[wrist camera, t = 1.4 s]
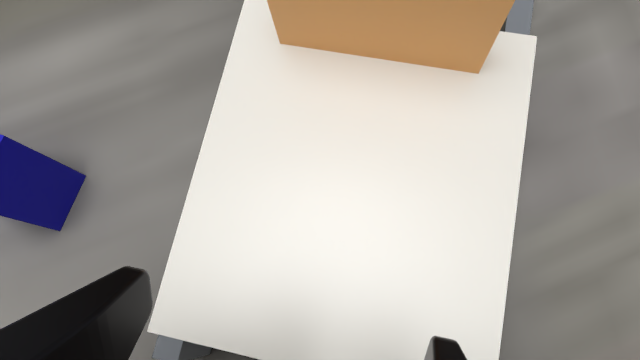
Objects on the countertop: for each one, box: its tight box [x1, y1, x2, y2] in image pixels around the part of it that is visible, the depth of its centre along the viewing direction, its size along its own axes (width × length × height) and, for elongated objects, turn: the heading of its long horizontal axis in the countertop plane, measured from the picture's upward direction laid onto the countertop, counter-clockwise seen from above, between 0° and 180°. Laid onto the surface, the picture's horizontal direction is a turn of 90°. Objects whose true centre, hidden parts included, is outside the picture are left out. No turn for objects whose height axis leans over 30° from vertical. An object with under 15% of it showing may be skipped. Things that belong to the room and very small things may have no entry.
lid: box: [147, 0, 537, 360], centre depth 14 cm, size 14×12×10 cm
